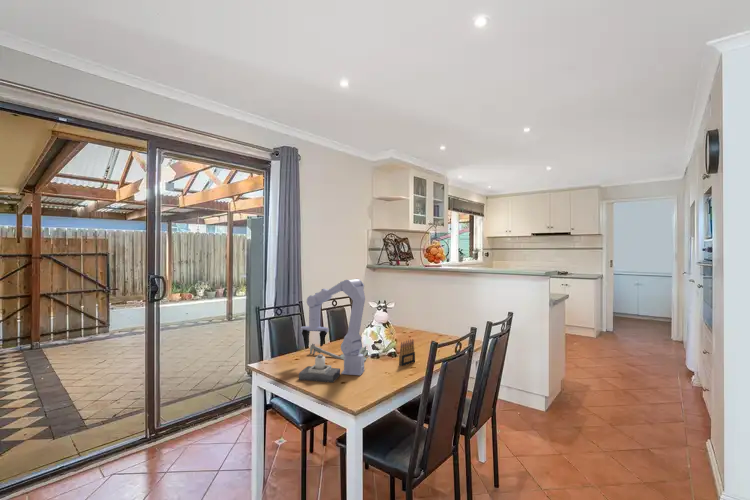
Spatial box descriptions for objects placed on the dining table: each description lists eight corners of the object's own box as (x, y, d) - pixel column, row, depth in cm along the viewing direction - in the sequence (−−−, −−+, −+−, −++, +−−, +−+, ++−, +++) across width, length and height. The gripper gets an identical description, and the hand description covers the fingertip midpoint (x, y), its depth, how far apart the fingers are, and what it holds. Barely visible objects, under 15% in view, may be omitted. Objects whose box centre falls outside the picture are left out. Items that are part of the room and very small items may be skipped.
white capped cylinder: (325, 369, 165) (325, 353, 165) (324, 372, 161) (324, 356, 161) (315, 369, 165) (315, 353, 165) (314, 372, 160) (314, 356, 160)
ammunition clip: (412, 360, 188) (412, 338, 188) (415, 361, 187) (415, 338, 187) (399, 365, 181) (399, 341, 181) (401, 366, 179) (401, 342, 180)
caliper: (309, 354, 200) (309, 343, 201) (311, 353, 201) (311, 342, 202) (340, 359, 191) (340, 347, 191) (341, 359, 192) (341, 347, 192)
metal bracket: (349, 342, 203) (373, 345, 198) (350, 351, 205) (374, 354, 199) (337, 355, 190) (363, 359, 185) (339, 365, 192) (364, 368, 186)
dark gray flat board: (340, 375, 166) (340, 365, 166) (333, 382, 156) (333, 372, 156) (307, 372, 169) (307, 362, 169) (298, 379, 159) (298, 369, 159)
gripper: (330, 317, 185) (330, 344, 185) (304, 316, 188) (304, 342, 188) (326, 320, 178) (325, 347, 178) (298, 319, 181) (298, 346, 181)
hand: (314, 345), depth 182 cm, fingers open, 7 cm apart
